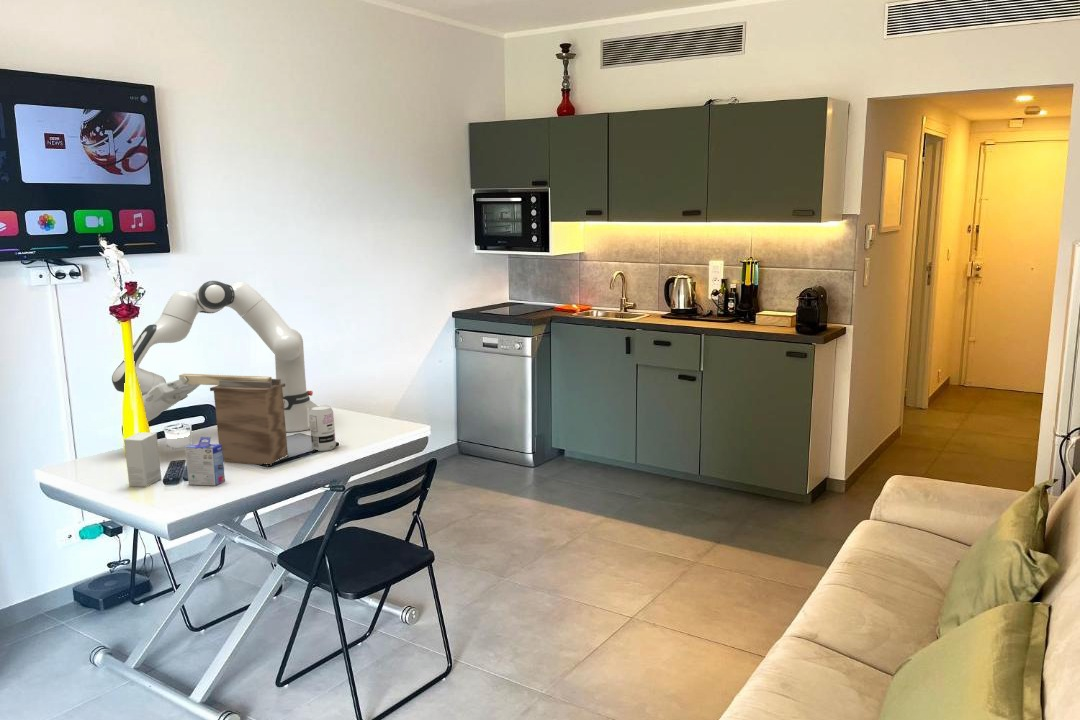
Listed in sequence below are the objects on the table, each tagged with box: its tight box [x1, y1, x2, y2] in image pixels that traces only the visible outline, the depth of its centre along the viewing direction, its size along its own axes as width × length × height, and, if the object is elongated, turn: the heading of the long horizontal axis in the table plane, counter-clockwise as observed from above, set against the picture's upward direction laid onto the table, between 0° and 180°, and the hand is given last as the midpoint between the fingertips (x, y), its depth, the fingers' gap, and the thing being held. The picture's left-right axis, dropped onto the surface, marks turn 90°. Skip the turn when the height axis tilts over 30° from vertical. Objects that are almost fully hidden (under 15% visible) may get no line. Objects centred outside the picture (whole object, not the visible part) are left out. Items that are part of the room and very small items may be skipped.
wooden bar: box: [178, 373, 273, 386], centre depth 287 cm, size 3×35×3 cm, turn 73°
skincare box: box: [123, 431, 162, 488], centre depth 265 cm, size 8×7×16 cm
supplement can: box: [309, 405, 337, 452], centre depth 299 cm, size 8×8×15 cm
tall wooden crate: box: [209, 378, 289, 466], centre depth 287 cm, size 11×22×28 cm, turn 73°
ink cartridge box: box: [185, 436, 226, 486], centre depth 263 cm, size 10×6×14 cm, turn 78°
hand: (191, 377), depth 291 cm, fingers closed on wooden bar, 3 cm apart
